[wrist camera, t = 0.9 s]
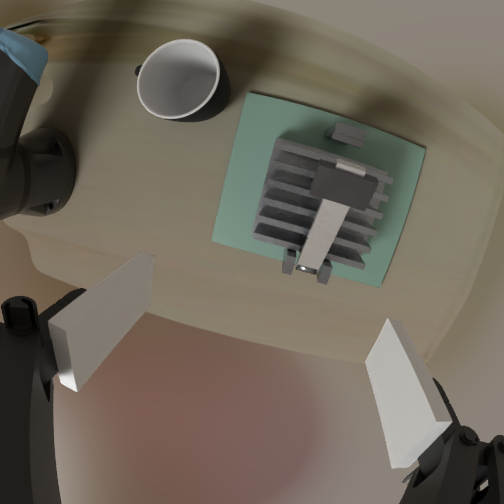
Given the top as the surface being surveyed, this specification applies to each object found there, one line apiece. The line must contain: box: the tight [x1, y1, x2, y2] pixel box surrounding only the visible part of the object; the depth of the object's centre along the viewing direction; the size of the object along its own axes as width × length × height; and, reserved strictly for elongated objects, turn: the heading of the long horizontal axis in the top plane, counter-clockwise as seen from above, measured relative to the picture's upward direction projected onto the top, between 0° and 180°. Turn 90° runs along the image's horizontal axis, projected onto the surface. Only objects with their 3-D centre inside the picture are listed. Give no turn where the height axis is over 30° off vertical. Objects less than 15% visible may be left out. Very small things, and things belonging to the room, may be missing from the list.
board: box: [212, 92, 426, 288], centre depth 36 cm, size 24×20×1 cm
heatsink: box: [251, 122, 394, 285], centre depth 32 cm, size 14×16×9 cm
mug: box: [135, 39, 230, 122], centre depth 29 cm, size 12×9×10 cm
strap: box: [296, 158, 378, 275], centre depth 27 cm, size 5×14×1 cm
